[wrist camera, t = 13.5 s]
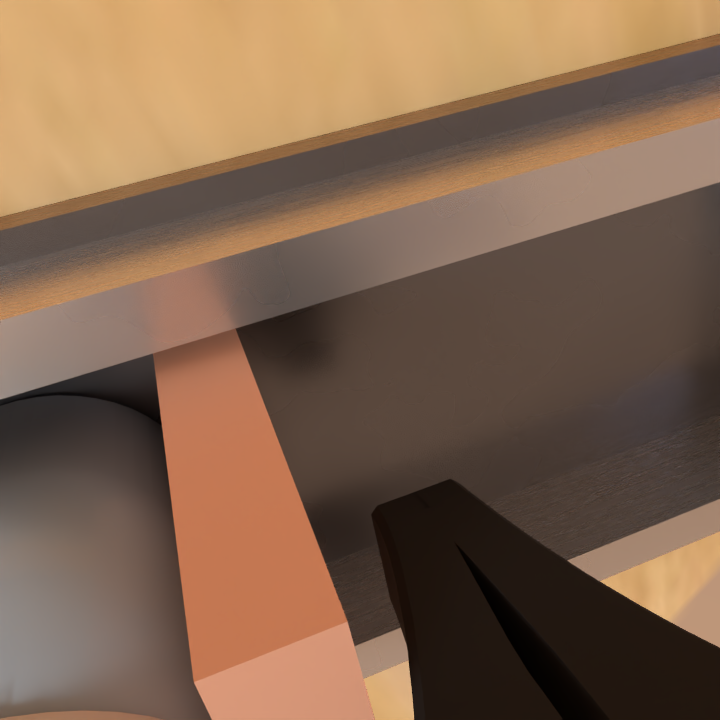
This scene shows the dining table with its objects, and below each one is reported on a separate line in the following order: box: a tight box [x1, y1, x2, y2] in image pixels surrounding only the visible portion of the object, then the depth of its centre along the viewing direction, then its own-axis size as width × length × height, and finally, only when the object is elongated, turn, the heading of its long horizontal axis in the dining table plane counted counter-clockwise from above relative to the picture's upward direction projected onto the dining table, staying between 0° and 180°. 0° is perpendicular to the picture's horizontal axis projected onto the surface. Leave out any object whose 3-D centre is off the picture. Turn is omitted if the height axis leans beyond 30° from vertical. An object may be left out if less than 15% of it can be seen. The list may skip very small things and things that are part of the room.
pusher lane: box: [0, 34, 720, 679], centre depth 12 cm, size 22×10×5 cm, turn 100°
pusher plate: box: [153, 329, 375, 720], centre depth 10 cm, size 1×6×7 cm, turn 10°
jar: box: [0, 395, 212, 720], centre depth 9 cm, size 5×5×6 cm
